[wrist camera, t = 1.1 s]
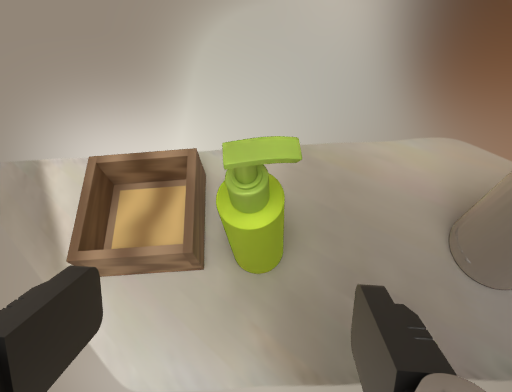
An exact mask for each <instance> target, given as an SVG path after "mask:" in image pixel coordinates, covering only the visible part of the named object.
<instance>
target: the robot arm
mask: <svg viewBox="0 0 512 392" xmlns="http://www.w3.org/2000/svg"><path fill="white" fill-rule="evenodd" d="M449 244H450V249H451V253H452V255H453V257H454V259H455V261H456V262H457V264H458V265H459V267H460V268H461V269H462V270H463V271H464V272H465V273H466V274H467V275H468V276H470V277H471V278H472V279H474V280H475V281H477V282H479V283H481V284H483V285H485V286H488V287H491V288H494V289H501V290H509V289H512V172H511V173H510V174H509V175H507V176H506V177H505V178H504V179H503V180H502V181H501V182H500V183H499V184H497V185H496V186H495V187H494V188H493V189H492V190H491V191H490V192H489V193H488V194H486V195H485V196H484V197H483V198H482V199H481V200H480V201H479V202H478V203H476V204H475V205H474V206H473V207H472V208H471V209H470V210H469V211H468V212H466V213H465V214H464V215H463V216H462V217H461V218H460V219H459V220H458V221H457V222H456V223H455V224H454V226H453V227H452V229H451V232H450V236H449ZM102 317H103V307H102V296H101V285H100V274H99V271H98V269H97V268H96V267H88V266H69V267H67V268H66V269H64V270H63V271H61V272H60V273H59V274H57V275H56V276H55V277H53V278H52V279H50V280H49V281H47V282H45V283H43V284H40V285H38V286H36V287H34V288H32V289H30V290H29V291H27V292H26V293H25V294H23V295H22V296H20V297H19V298H18V300H14V301H13V302H12V303H10V304H9V305H7V307H6V308H3V309H2V310H0V392H47V390H48V389H49V388H50V387H51V386H52V385H53V384H54V382H55V381H56V380H57V379H58V378H59V376H60V375H61V374H62V373H63V371H65V369H66V368H67V367H68V366H69V365H70V363H71V362H72V361H73V360H74V359H75V358H76V356H77V355H78V354H79V353H80V351H82V349H83V348H84V347H85V346H86V345H87V343H88V342H89V341H90V340H91V339H92V338H93V336H94V335H95V334H96V333H97V331H98V330H99V328H100V325H101V322H102ZM351 347H352V353H353V357H354V360H355V364H356V367H357V371H358V375H359V378H360V382H361V385H362V389H363V392H486V391H484V390H483V389H482V388H480V387H479V386H477V385H475V384H474V383H472V382H470V381H468V380H466V379H464V378H461V377H458V376H457V375H456V373H455V372H454V370H453V369H452V367H451V366H450V364H449V363H448V361H447V359H446V358H445V356H444V355H443V353H442V352H441V350H440V349H439V347H438V346H437V344H436V343H435V341H433V338H432V336H431V335H430V333H429V332H428V330H426V327H425V326H424V324H423V323H422V321H421V320H420V318H419V317H418V315H417V314H415V313H414V312H413V311H411V310H410V309H409V308H407V307H406V306H405V305H404V304H394V302H393V300H392V299H391V297H390V295H389V293H388V292H387V290H386V288H385V287H384V286H375V285H360V284H358V285H357V287H356V291H355V300H354V309H353V318H352V328H351Z"/></svg>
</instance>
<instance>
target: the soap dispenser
mask: <svg viewBox="0 0 512 392" xmlns="http://www.w3.org/2000/svg"><path fill="white" fill-rule="evenodd" d="M222 147H223V165H224V169H225V170H227V169H228V170H227V172H226V175H225V181H224V182H223V183H222V184H221V186H220V187H219V190H218V192H217V196H216V205H217V209H218V212H219V215H220V218H221V221H222V223H223V226H224V229H225V232H226V235H227V237H228V240H229V243H230V246H231V248H232V251H233V254H234V257H235V259H236V261H237V263H238V264H239V266H240V267H241V268H243V269H244V270H246V271H248V272H250V273H255V274H260V273H265V272H268V271H270V270H272V269H273V268H275V267H276V266H277V265H278V263H279V262H280V260H281V258H282V254H283V234H284V200H285V199H284V191H283V188H282V186H281V184H280V183H279V181H278V180H277V179H276V178H275V177H274V176H272V175H271V174H269V173H268V171H267V169H266V167H265V166H264V165H263V164H272V163H297V162H299V161H300V160H302V154H301V149H300V144H299V139H298V138H297V137H281V136H271V137H258V138H250V139H243V140H237V141H231V142H225V143H223V145H222Z"/></svg>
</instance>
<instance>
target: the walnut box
mask: <svg viewBox="0 0 512 392" xmlns="http://www.w3.org/2000/svg"><path fill="white" fill-rule="evenodd" d="M205 183H206V174H205V172H204V169H203V166H202V163H201V160H200V157H199V155H198V152H197V149H196V148H194V149H182V150H169V151H155V152H143V153H130V154H117V155H105V156H93V157H89V159H88V164H87V168H86V173H85V177H84V182H83V187H82V191H81V196H80V201H79V205H78V210H77V214H76V219H75V224H74V228H73V233H72V238H71V242H70V247H69V251H68V256H67V262H68V263H70V264H72V265H74V266H88V267H96V268H97V269H98V271H99V274H100V277H102V276H116V275H130V274H145V273H159V272H174V271H188V270H203V269H204V233H205Z"/></svg>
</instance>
